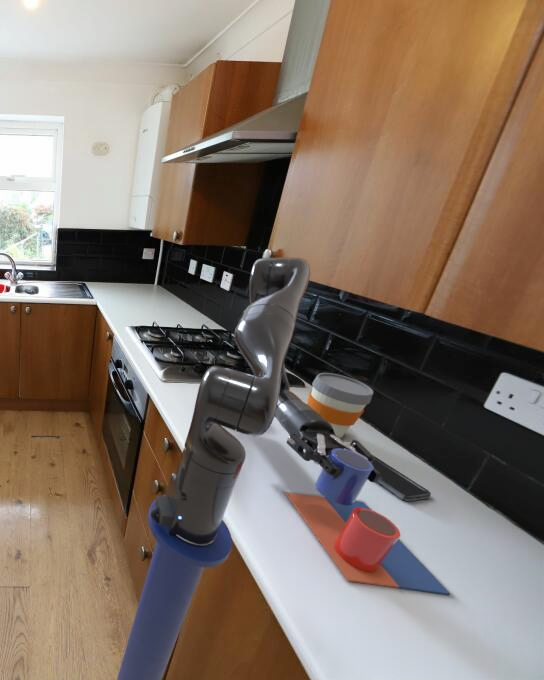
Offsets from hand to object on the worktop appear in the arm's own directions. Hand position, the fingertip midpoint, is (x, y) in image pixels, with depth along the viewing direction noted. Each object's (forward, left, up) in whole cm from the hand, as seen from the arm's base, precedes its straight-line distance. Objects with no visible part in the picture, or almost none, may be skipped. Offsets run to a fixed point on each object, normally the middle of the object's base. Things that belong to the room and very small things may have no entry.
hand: (357, 476), depth 65 cm
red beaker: (0, -7, -13) cm, 14 cm away
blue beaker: (0, +2, -7) cm, 7 cm away
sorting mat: (+4, -2, -13) cm, 14 cm away
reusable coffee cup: (+21, +35, -13) cm, 43 cm away
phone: (+23, +17, -13) cm, 32 cm away
